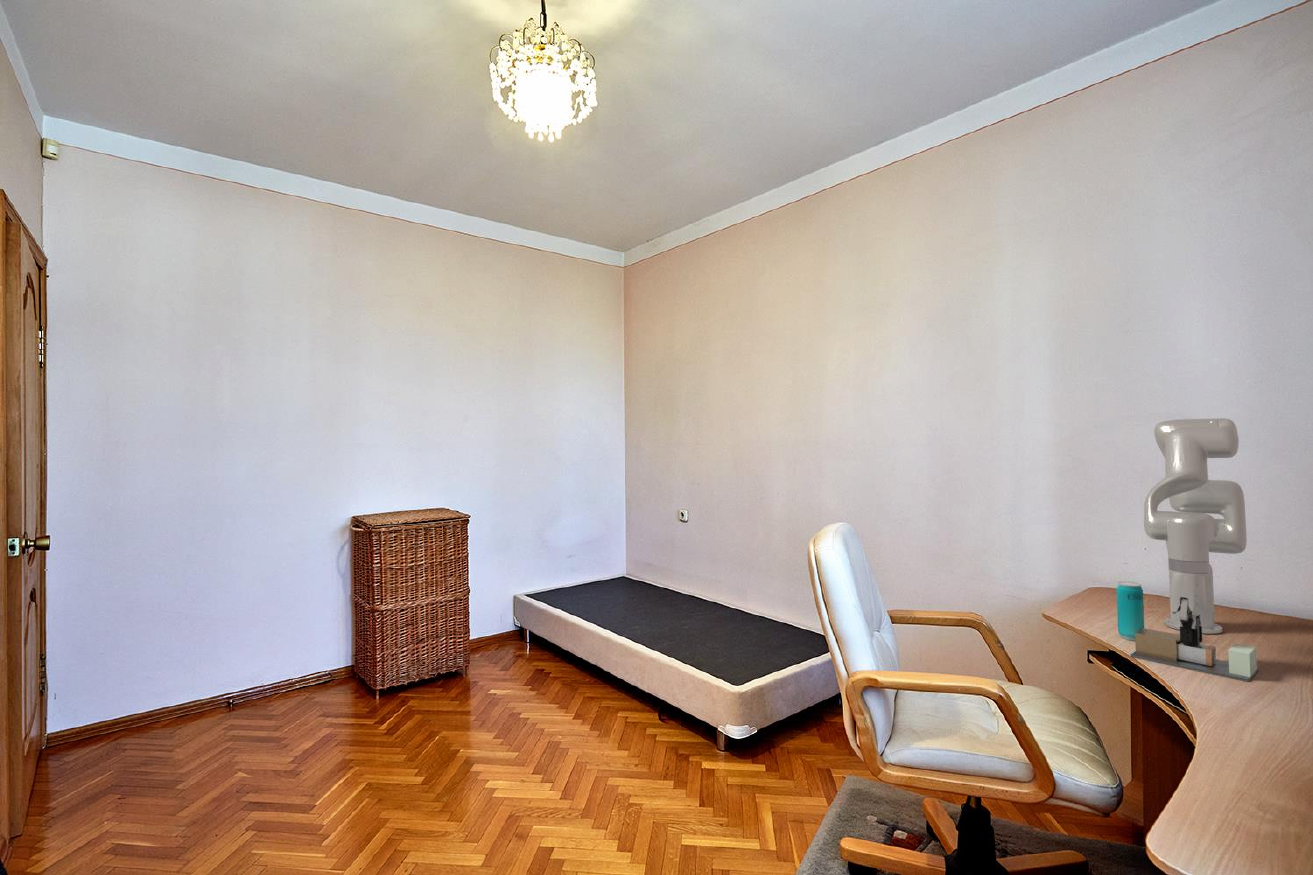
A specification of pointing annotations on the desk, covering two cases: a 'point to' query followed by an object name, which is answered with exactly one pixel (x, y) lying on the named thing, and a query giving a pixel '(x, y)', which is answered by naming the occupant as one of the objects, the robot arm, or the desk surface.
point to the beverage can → (1130, 609)
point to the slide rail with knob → (1175, 654)
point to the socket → (1242, 660)
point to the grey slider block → (1197, 651)
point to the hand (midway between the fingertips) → (1191, 642)
